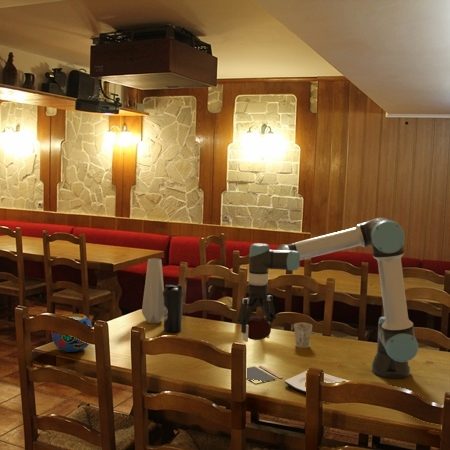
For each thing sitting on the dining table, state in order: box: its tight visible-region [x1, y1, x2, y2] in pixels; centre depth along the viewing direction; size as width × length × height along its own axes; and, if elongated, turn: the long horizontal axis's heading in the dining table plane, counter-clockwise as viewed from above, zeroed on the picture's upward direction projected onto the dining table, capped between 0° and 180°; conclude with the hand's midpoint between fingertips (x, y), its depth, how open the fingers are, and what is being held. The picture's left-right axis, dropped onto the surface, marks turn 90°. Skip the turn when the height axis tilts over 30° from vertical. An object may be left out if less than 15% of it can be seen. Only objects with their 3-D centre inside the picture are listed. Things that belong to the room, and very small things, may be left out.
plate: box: [284, 370, 348, 394], centre depth 216 cm, size 20×20×3 cm
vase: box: [141, 257, 165, 324], centre depth 295 cm, size 12×12×33 cm
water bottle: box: [163, 283, 185, 334], centre depth 281 cm, size 10×10×23 cm
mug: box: [293, 322, 313, 349], centre depth 261 cm, size 8×13×10 cm, turn 174°
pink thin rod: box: [258, 365, 284, 380], centre depth 229 cm, size 15×1×1 cm, turn 31°
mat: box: [246, 366, 277, 383], centre depth 225 cm, size 15×10×1 cm, turn 31°
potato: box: [247, 315, 272, 341], centre depth 223 cm, size 9×12×9 cm
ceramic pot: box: [51, 313, 93, 353], centre depth 248 cm, size 18×18×15 cm
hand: (256, 339), depth 224 cm, fingers closed on potato, 9 cm apart
